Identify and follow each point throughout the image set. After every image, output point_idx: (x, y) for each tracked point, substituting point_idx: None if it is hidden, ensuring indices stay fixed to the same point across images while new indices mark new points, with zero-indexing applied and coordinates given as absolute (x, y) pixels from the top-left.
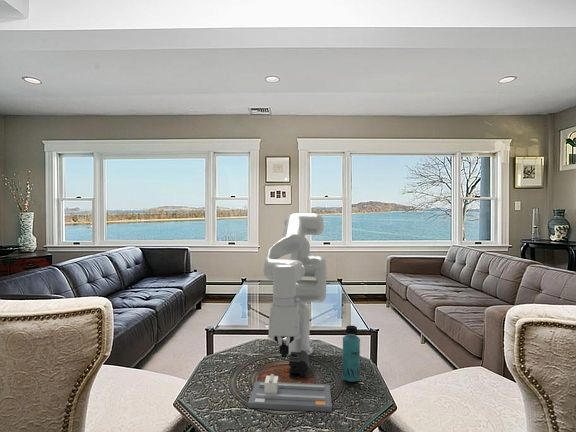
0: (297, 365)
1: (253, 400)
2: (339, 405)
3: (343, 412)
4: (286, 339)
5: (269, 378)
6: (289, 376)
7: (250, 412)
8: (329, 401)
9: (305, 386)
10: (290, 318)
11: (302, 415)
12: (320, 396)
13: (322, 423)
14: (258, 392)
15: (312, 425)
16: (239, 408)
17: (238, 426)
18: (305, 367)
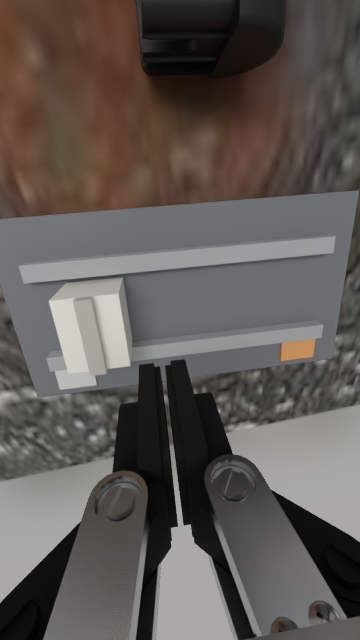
0: (206, 35)
1: (51, 380)
2: (354, 311)
3: (356, 346)
4: (237, 638)
5: (78, 329)
6: (144, 70)
7: (64, 406)
8: (330, 330)
9: (250, 260)
10: None
11: (231, 386)
12: (306, 329)
13: (286, 406)
14: (45, 322)
15: (259, 419)
16: (15, 395)
17: (58, 465)
18: (262, 52)
